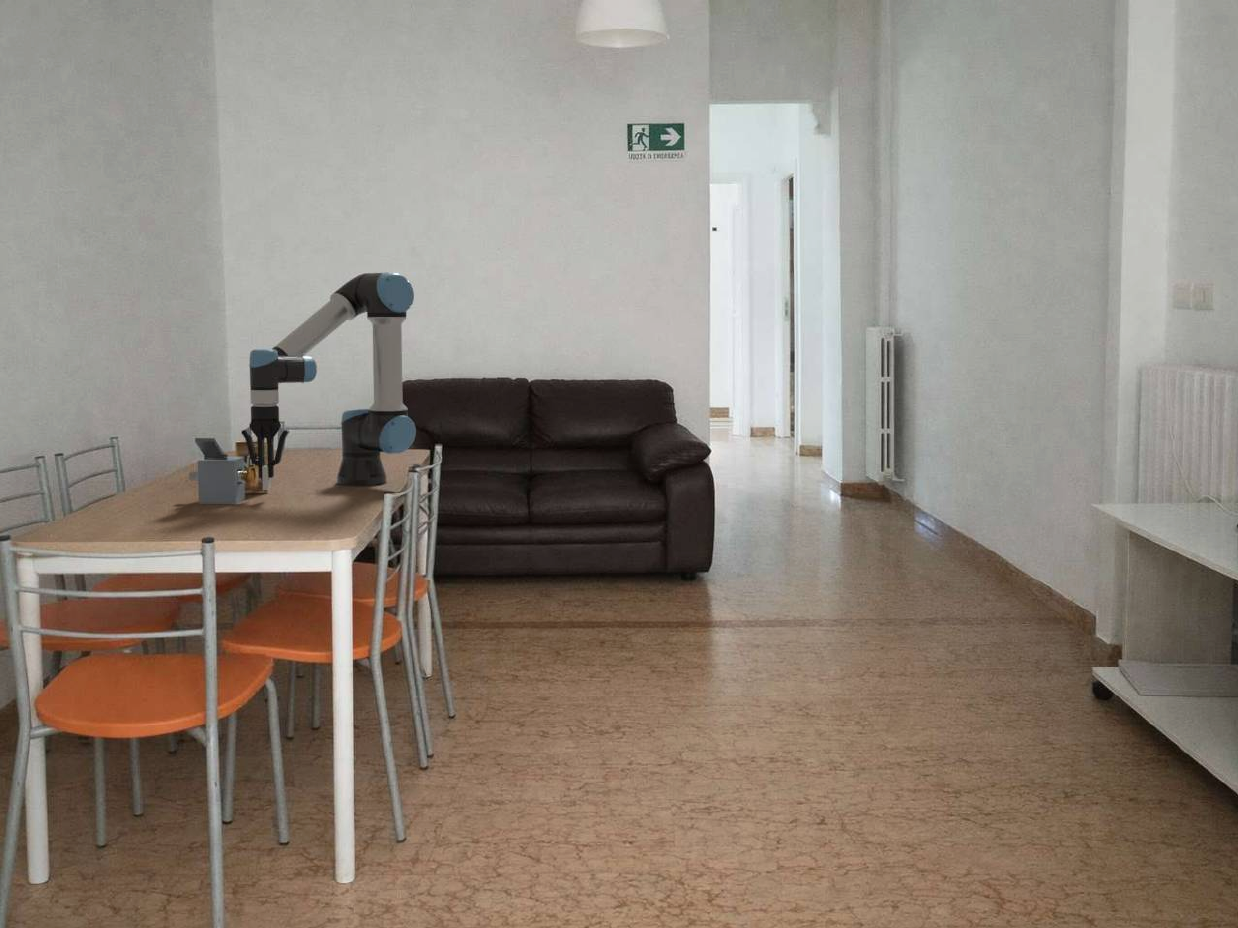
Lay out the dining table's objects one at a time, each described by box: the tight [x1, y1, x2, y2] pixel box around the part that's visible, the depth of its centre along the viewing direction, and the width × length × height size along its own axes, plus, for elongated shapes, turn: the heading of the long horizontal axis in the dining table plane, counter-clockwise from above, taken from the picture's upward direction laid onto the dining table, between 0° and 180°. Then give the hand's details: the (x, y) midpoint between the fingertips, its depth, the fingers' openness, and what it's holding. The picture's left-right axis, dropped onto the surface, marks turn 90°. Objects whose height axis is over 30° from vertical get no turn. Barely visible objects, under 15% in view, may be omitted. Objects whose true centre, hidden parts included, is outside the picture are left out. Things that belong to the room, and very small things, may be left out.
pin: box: [188, 467, 258, 486], centre depth 352 cm, size 18×5×5 cm, turn 92°
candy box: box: [235, 439, 269, 494], centre depth 369 cm, size 9×4×15 cm, turn 107°
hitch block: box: [197, 456, 246, 505], centre depth 352 cm, size 10×10×12 cm
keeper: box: [194, 437, 229, 460], centre depth 341 cm, size 6×12×2 cm, turn 2°
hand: (266, 489), depth 353 cm, fingers closed
